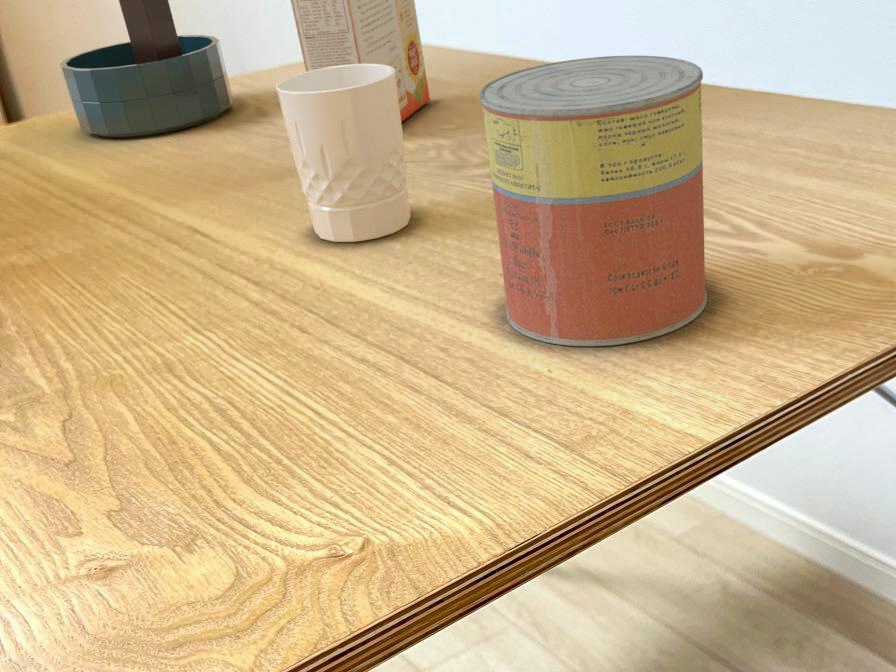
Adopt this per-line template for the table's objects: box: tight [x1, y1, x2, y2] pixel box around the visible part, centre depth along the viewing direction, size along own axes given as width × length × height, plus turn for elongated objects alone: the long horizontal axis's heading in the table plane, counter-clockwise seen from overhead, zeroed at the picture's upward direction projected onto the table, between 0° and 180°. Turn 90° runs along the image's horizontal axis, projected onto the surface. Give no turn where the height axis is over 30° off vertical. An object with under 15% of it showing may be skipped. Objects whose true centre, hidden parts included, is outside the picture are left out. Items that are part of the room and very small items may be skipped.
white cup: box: [274, 64, 412, 243], centre depth 78 cm, size 8×8×10 cm
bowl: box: [59, 34, 234, 139], centre depth 114 cm, size 15×15×6 cm
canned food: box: [478, 55, 708, 347], centre depth 61 cm, size 11×11×12 cm
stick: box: [118, 0, 182, 64], centre depth 110 cm, size 3×3×14 cm
